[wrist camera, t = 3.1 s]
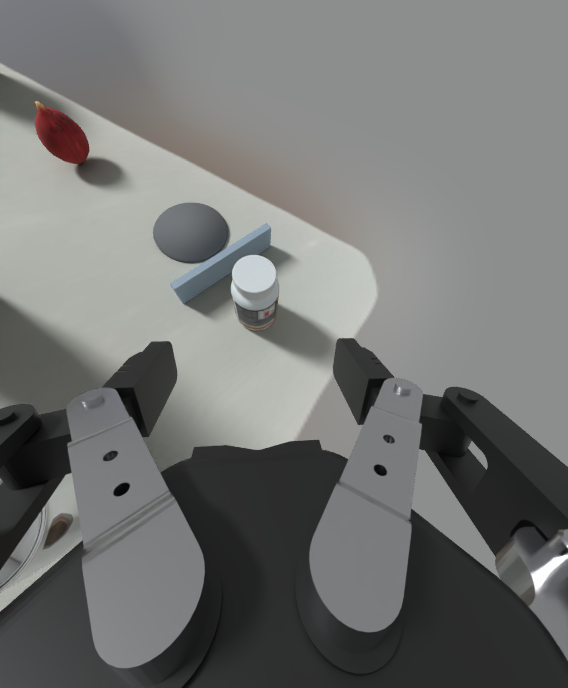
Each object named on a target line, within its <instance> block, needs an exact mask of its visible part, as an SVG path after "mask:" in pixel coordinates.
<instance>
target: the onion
mask: <svg viewBox="0 0 568 688" xmlns="http://www.w3.org/2000/svg"><path fill="white" fill-rule="evenodd" d="M35 104H36V107H37V109H38V113H37V115H36V118H35V126H36V131H37V135H38V137H39V139H40V141H41V142H42V144H43V145H44V146H45V147H46V148H47V150H48V151H49V152H51V153H52V154H53V155H54V156H56V157H58V158H60V159H62V160H63V161H66V162H69V163H73V164H82V163H83V162H84V161H85V160H86V158H87V156H88V153H89V144H88V140H87V138H86V135H85V133H84V132H83V130H82V129H81V128H80V127H79V126H78V125H77V124H76V123H75V122H74V121H73V120H72V119H71V118H69V117H68V116H67V115H65V114H64V113H62V112H60V111H58V110H55V109H52V108H48V107H46V106H45V105H43V104H42V103H41V102H39V101H35Z"/></svg>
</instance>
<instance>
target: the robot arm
mask: <svg viewBox="0 0 568 688" xmlns="http://www.w3.org/2000/svg"><path fill="white" fill-rule="evenodd" d="M333 373H334V377H335V379H336V381H337V383H338V385H339V387H340V389H341V391H342V393H343V395H344V397H345V399H346V401H347V403H348V405H349V407H350V409H351V411H352V414H353V416H354V418H355V420H356V422H357V424H358V425H363V427H362V429H361V432H360V434H359V436H358V439H357V441H356V444H355V446H354V448H353V450H352V453H351V455H350V458H349V460H348V459H347V458H345V457H343V456H341V455H339V454H336V453H333V452H330V451H326V450H322V448H321V445H320V442H319V440H307V441H290V442H286V443H283V444H279V445H276V446H272V447H269V448H265V449H262V450H252V449H246V448H240V447H234V446H227V445H223V446H206V447H194V450H193V454H192V457H191V458H190V459H186V460H184V461H181V462H179V463H177V464H175V465H173V466H171V467H169V468H167V469H166V470H164V471H162V472H161V473H160V471H159V470H158V468H157V466H156V464H155V462H154V460H153V458H152V456H151V454H150V452H149V450H148V448H147V446H146V444H145V442H144V440H143V438H142V437H149V435H150V433H151V431H152V429H153V427H154V425H155V423H156V421H157V419H158V417H159V415H160V413H161V411H162V409H163V407H164V405H165V404H166V402H167V400H168V398H169V396H170V394H171V392H172V390H173V388H174V386H175V384H176V381H177V368H176V363H175V358H174V353H173V348H172V344H171V343H170V342H169V341H162V342H151V343H150V344H149V345H148V346H147V347H146V348H145V350H144V351H143V352H139V353H137V354H135V355H134V356H132V357H130V358H129V359H128V360H127V361H126V362H125V363H124V364H123V366H121V367H120V368H119V370H118V372H116V373H115V374H114V375H113V376H112V377H111V378H110V379H109V380H108V381H107V382H106V383H105V385H104V386H103V387H102V388H97V389H93V390H89V391H87V392H84V393H82V394H80V395H78V396H76V397H75V398H74V399H72V400H71V401H70V402H69V403H68V405H67V407H66V409H64V410H60V411H55V412H51V413H46V414H42V415H38V414H37V412H36V410H35V408H34V407H33V406H32V405H29V404H19V405H13V406H9V407H5V408H2V409H0V479H1V480H2V481H3V482H2V484H1V485H0V570H1V569H2V567H3V566H4V564H5V563H6V561H7V560H8V559H9V557H10V556H11V554H12V553H13V551H14V550H15V548H16V547H17V545H18V544H19V543H20V541H21V540H22V538H23V537H24V535H25V534H26V532H27V531H28V529H29V528H30V526H31V525H32V524H33V522H34V521H35V519H36V518H37V516H38V515H39V513H40V512H41V510H42V509H43V508H44V506H45V505H46V503H47V502H48V500H49V499H50V497H51V496H52V494H53V493H54V491H55V490H56V489H57V487H58V486H59V484H60V483H61V481H62V480H63V478H64V477H65V475H67V474H70V473H72V478H73V484H74V490H75V496H76V502H77V508H78V514H79V520H80V527H81V533H82V539H83V540H82V541H81V542H80V543H79V544H77V545H76V546H75V547H74V548H73V549H72V550H71V551H69V552H68V553H67V554H66V555H65V556H64V557H63V558H61V559H60V560H59V561H58V562H57V563H56V564H55V565H53V566H52V567H51V568H50V569H49V570H48V571H47V572H45V573H44V574H43V575H42V576H41V577H40V578H39V579H37V580H36V581H35V582H34V583H33V584H32V585H31V586H29V587H28V588H27V589H26V590H25V591H24V592H23V593H21V594H20V595H19V596H18V597H17V598H16V599H15V600H13V601H12V602H11V603H10V604H9V605H8V606H7V607H5V608H4V609H3V610H2V611H1V612H0V688H568V467H567V466H566V465H565V464H563V463H562V462H561V461H560V460H559V459H557V458H556V457H555V456H554V455H553V454H551V453H550V452H549V451H548V450H547V449H545V448H544V447H543V446H542V445H541V444H539V443H538V442H537V441H536V440H535V439H533V438H532V437H531V436H530V435H529V434H527V433H526V432H525V431H524V430H522V429H521V428H520V427H519V426H518V425H517V424H515V423H514V422H513V421H512V420H511V419H509V418H508V417H507V416H506V415H505V414H503V413H502V412H501V411H500V410H499V409H497V408H496V407H495V406H494V405H492V404H491V403H490V402H489V401H488V400H487V399H485V398H484V397H483V396H481V395H480V394H478V393H476V392H474V391H471V390H468V389H465V388H461V387H449V388H447V389H446V390H445V392H444V395H443V397H438V396H432V395H425V394H423V392H422V390H421V389H420V388H419V387H418V386H417V385H416V384H414V383H412V382H410V381H408V380H405V379H400V378H395V377H394V376H393V375H392V374H391V373H390V372H389V371H388V369H387V368H386V367H385V366H384V365H383V364H382V363H381V362H380V360H379V359H378V358H377V357H376V356H375V355H374V354H373V352H371V351H369V350H367V349H366V348H362V347H361V346H360V345H359V344H358V343H357V341H356V340H355V339H354V338H339V339H338V340H337V343H336V350H335V357H334V364H333ZM471 441H473V442H474V443H475V444H476V446H477V447H478V448H479V449H480V450H481V451H482V452H483V453H484V455H485V457H486V459H487V462H488V468H487V470H486V469H485V468H484V467H483V465H482V464H481V463H480V462H479V461H478V460H477V459H476V457H475V456H474V455H473V454H472V453H471V451H470V450H469V449H468V446H469V445H470V443H471ZM419 449H421V450H425V451H426V453H427V454H428V456H429V457H430V459H431V460H432V462H433V463H434V465H435V466H436V467H437V469H438V471H439V472H440V474H441V475H442V477H443V478H444V480H445V481H446V483H447V484H448V486H449V487H450V489H451V490H452V492H453V493H454V495H455V496H456V498H457V499H458V501H459V502H460V504H461V505H462V507H463V508H464V510H465V511H466V513H467V514H468V516H469V517H470V519H471V520H472V522H473V523H474V525H475V526H476V528H477V529H478V531H479V532H480V534H481V535H482V537H483V538H484V540H485V542H486V543H487V545H488V546H489V548H490V549H491V551H492V552H493V554H494V555H495V557H496V560H495V564H496V569H497V572H498V575H499V577H500V579H499V578H498V577H497V576H496V575H494V574H493V573H491V571H489V570H488V569H487V568H485V567H484V566H483V565H482V564H480V563H479V562H478V561H477V560H475V559H474V558H473V557H472V556H470V555H469V554H468V553H467V552H465V551H464V550H463V549H462V548H460V547H459V546H458V545H457V544H455V543H454V542H453V541H452V540H450V539H449V538H448V537H446V536H445V535H444V534H443V533H442V532H440V531H439V530H438V529H436V528H435V527H434V526H433V525H431V524H430V523H429V522H428V521H426V520H425V519H424V518H423V517H421V516H420V515H419V514H417V513H416V512H415V511H414V510H412V509H411V506H412V498H413V490H414V483H415V475H416V467H417V459H418V452H419Z"/></svg>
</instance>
